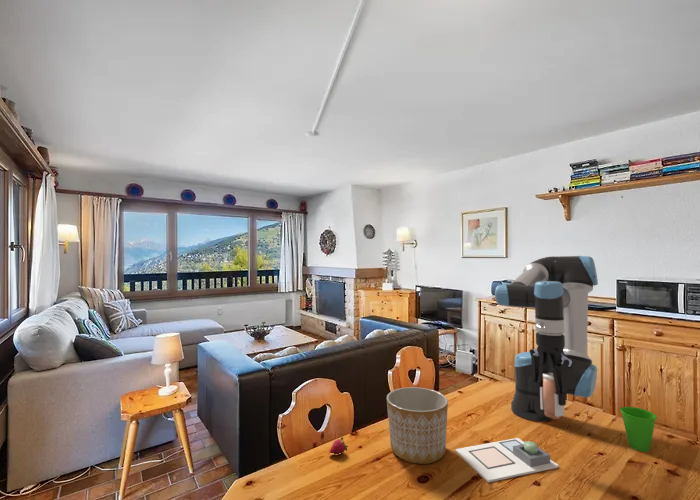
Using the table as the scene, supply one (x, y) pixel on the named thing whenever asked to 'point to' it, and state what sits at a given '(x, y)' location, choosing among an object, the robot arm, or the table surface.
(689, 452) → the table surface
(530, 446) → the button
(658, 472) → the table surface
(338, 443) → the fruit
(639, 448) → the cup
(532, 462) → the button housing
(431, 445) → the planter
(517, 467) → the sheet
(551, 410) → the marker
